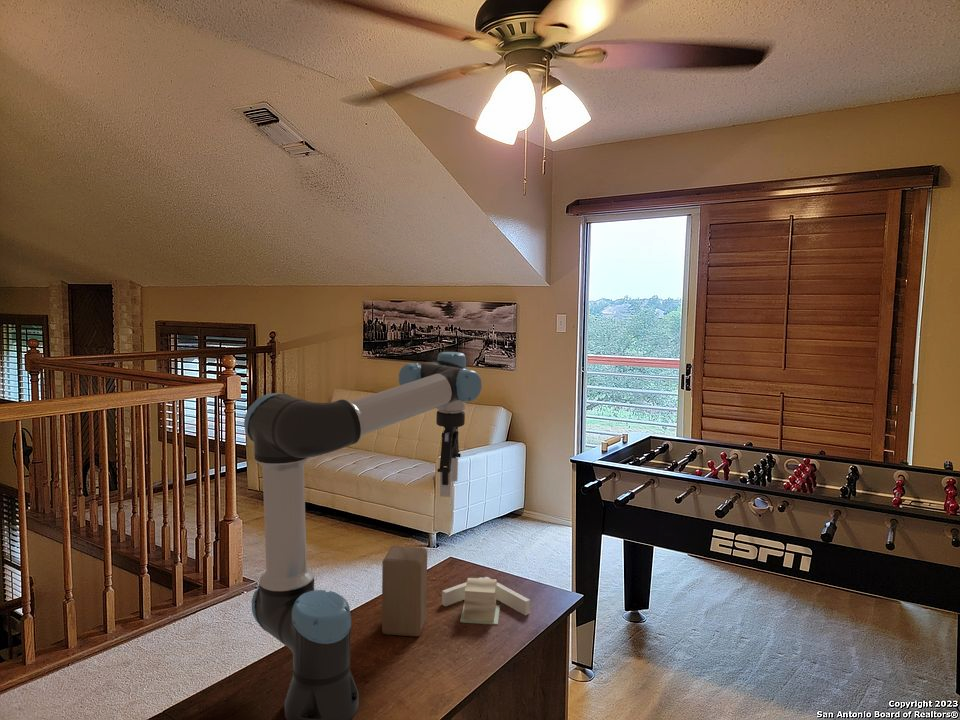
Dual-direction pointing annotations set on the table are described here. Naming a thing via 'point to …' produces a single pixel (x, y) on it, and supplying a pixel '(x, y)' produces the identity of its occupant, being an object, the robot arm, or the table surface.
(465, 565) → the table surface
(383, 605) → the wooden block
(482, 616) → the birch cube
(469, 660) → the table surface
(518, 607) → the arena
